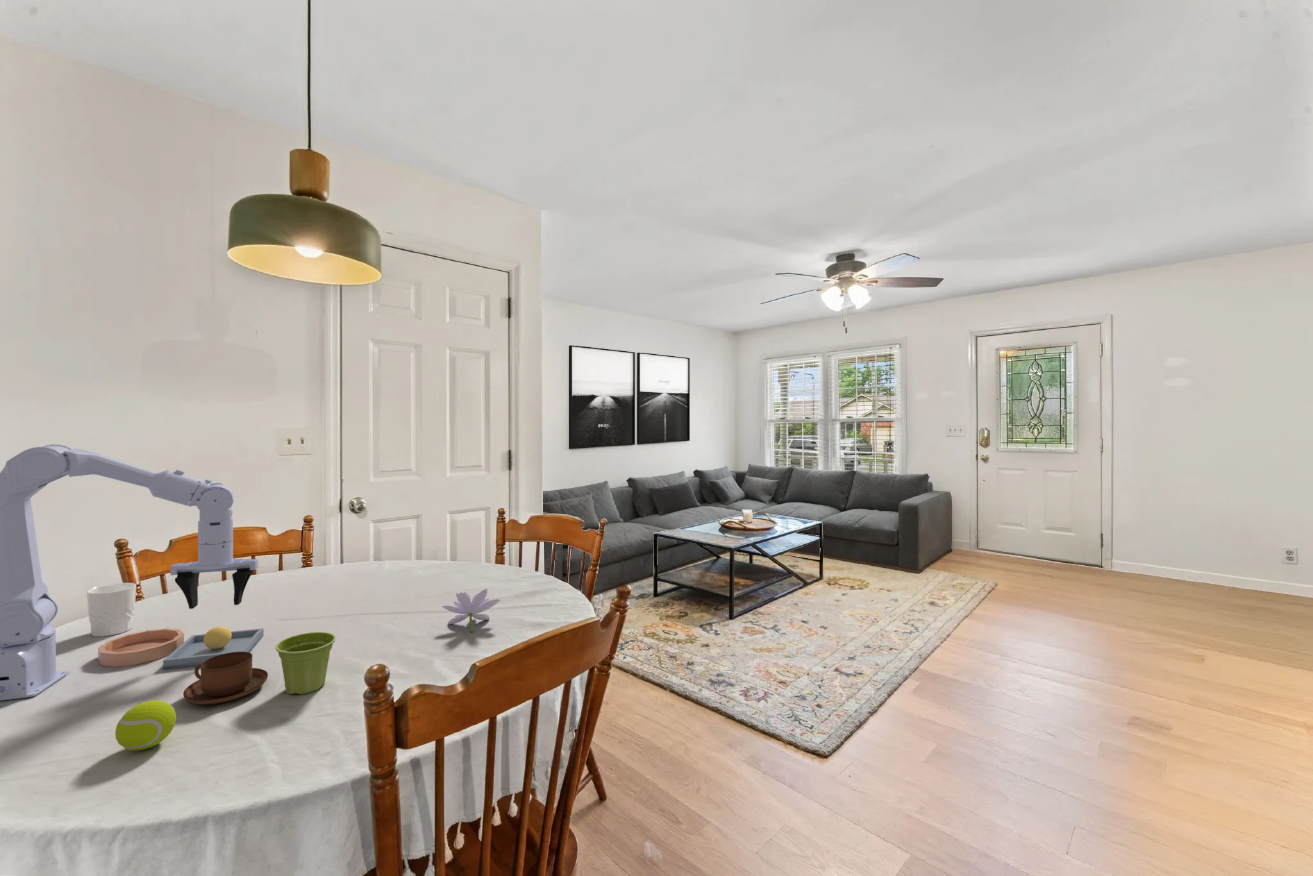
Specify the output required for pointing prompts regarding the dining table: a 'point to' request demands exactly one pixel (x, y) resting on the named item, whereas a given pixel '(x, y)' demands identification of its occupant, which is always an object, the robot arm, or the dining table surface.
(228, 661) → the cup and saucer
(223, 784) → the dining table surface
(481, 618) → the water lily
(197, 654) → the tray
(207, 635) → the ball
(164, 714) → the tennis ball
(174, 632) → the bowl
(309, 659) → the plant pot
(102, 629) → the white cup
